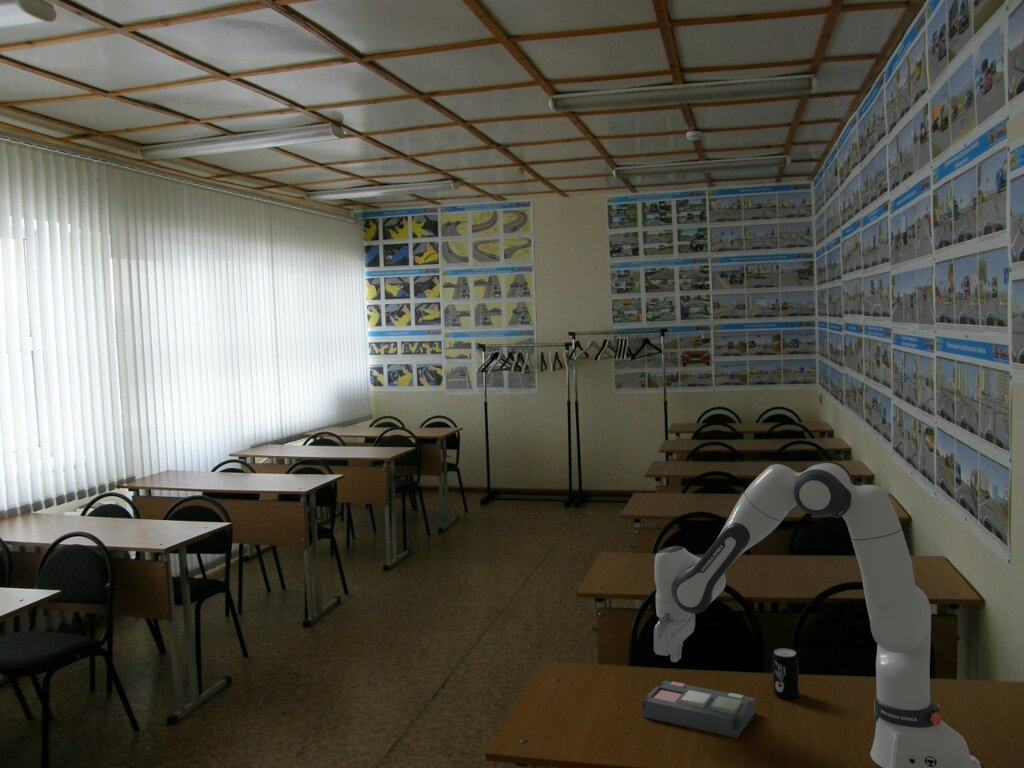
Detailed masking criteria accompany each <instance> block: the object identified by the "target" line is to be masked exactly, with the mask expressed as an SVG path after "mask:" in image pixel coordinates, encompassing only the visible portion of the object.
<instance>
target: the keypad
mask: <svg viewBox="0 0 1024 768" xmlns="http://www.w3.org/2000/svg"><path fill="white" fill-rule="evenodd" d="M660 690H664V691H669V692H674V693H679V694H682V695H681V696H680V697H679V698H678V699H677V700H676V701H675V702H671V701H666V700H661V699H656V698H653V697H654V696H655V695H656V694H657V693H658V692H659V691H660ZM689 690H691V691H696V692H701V693H706V694H711V701H710V702H709V704H708V705H707V706H706V707H705V708H700V707H695V706H690V705H685V704H681V698H682V697H683V696H684V695H685V694H686V693H687V692H688V691H689ZM718 696H721V697H727V698H732V699H737V700H742V707H741V708H740V710H739V711H738V712H737V714H736V715H733V714H728V713H723V712H719V711H714V710H711V705H712V703H713V702H714V701H715V700H716V699H717V697H718ZM641 701H642V702H641V705H642V718H644V719H645V718H646V719H650V720H655V721H660V722H664V723H669V724H673V725H677V726H681V727H686V728H689V729H694V730H695V729H696V730H699V731H704V732H707V733H712V734H718V735H723V736H726V737H731V738H735V739H738V738H739V736H740V735H741V734H742V732H743V731H744V729H745V728H746V727H747V725H748V724H749V722H750V721H751V719H752V718H753V716H754V715H755V714H756V705H755V701H756V700H755V697H751V696H746V695H743V694H739V693H735V692H734V693H733V692H726V691H720V690H715V689H712V688H711V689H709V688H705V687H701V686H694V685H689V684H686V683H684V682H676V681H669V680H663V681H662V682H659V683H658V684H657V685H656V686H655V687H654V688H653V689H652V690H651V691H650V692H649V693H648V694H647V695H646V696H645V697H644V698H643V699H642V700H641Z"/></svg>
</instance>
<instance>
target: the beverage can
mask: <svg viewBox="0 0 1024 768" xmlns="http://www.w3.org/2000/svg"><path fill="white" fill-rule="evenodd" d="M772 679H773V680H772V683H773V685H772V686H773V693H774V694H775V696H776V697H777V698H779V699H782V700H788V701H789V700H794V699H797V698H798V696H799V695H800V681H799V658H798V656H797V651H795V650H793V649H791V648H785V647H780V648H776V649H774V651H773V654H772Z"/></svg>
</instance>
